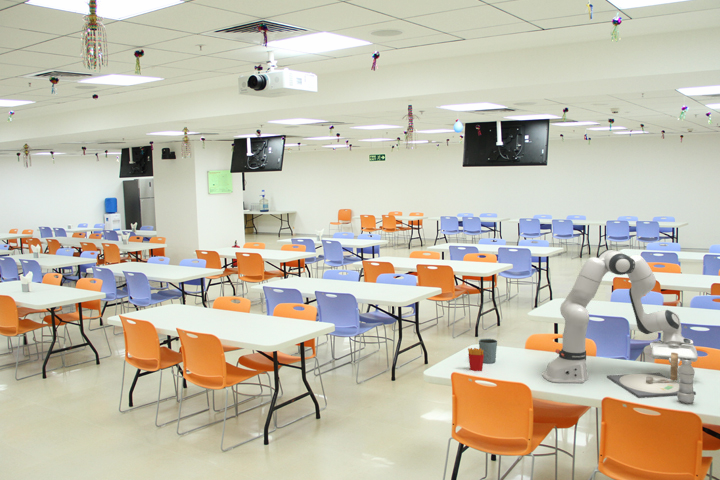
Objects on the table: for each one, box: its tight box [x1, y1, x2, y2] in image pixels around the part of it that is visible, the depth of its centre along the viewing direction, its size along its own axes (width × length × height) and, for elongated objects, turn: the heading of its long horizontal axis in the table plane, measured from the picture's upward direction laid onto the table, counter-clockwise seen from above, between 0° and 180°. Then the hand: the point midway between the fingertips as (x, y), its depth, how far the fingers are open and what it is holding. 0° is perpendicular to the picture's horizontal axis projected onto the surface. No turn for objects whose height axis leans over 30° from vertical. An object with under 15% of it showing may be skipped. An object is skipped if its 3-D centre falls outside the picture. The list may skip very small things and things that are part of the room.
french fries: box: [467, 347, 484, 372], centre depth 308 cm, size 8×4×12 cm, turn 69°
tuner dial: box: [606, 372, 697, 399], centre depth 278 cm, size 28×28×2 cm
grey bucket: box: [478, 338, 498, 365], centre depth 322 cm, size 10×10×12 cm
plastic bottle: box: [676, 358, 695, 404], centre depth 256 cm, size 6×7×20 cm
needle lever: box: [646, 353, 679, 383], centre depth 277 cm, size 15×3×14 cm, turn 91°
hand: (675, 367), depth 279 cm, fingers closed
